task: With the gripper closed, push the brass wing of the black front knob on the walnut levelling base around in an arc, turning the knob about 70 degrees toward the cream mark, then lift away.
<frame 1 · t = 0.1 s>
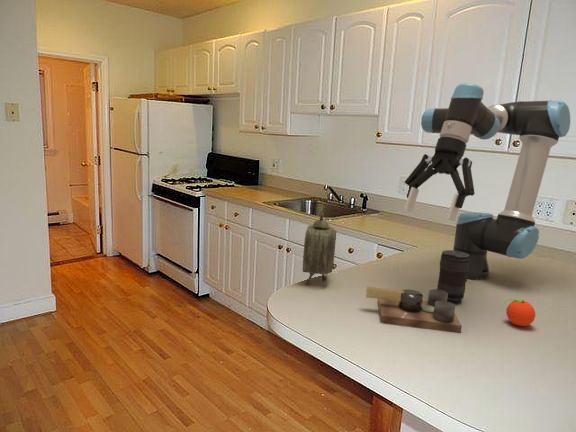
hand: (428, 214, 114), 28 cm above the countertop, tool tilted 20°, fingers open, 13 cm apart
levelling base: (416, 316, 116), on the countertop
footscrew knob: (393, 298, 116), point 4 cm above the countertop, hinge at 0.0°
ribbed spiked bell: (317, 281, 139), on the countertop
clementine: (516, 325, 115), on the countertop
camera lens: (448, 300, 130), on the countertop
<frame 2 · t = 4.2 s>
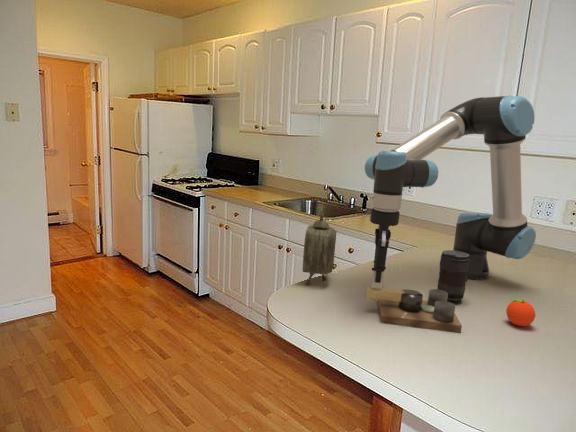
hand: (376, 292, 117), 5 cm above the countertop, tool pointing down, fingers closed
footscrew knob: (393, 298, 116), point 4 cm above the countertop, hinge at 3.8°, touching gripper
everything else where it was.
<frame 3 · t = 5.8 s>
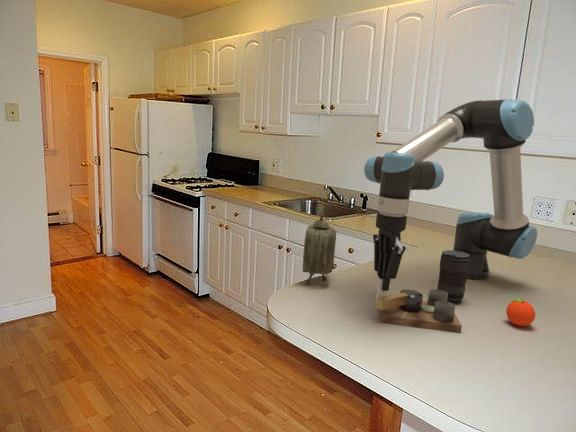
hand: (381, 300, 112), 5 cm above the countertop, tool pointing down, fingers closed
footscrew knob: (399, 302, 113), point 4 cm above the countertop, hinge at 41.5°, touching gripper
everything else where it was.
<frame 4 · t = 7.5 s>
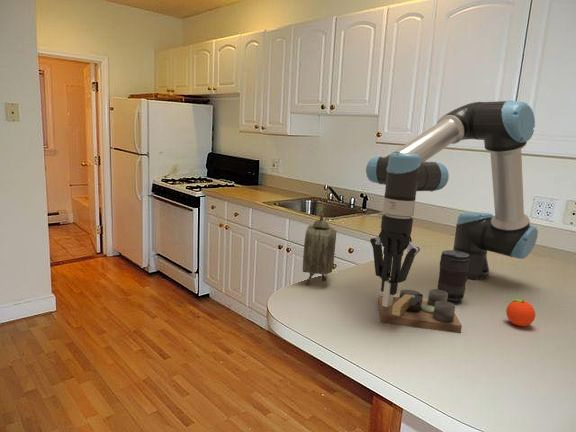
hand: (387, 304, 109), 5 cm above the countertop, tool pointing down, fingers closed
footscrew knob: (405, 304, 112), point 4 cm above the countertop, hinge at 65.6°
everything else where it was.
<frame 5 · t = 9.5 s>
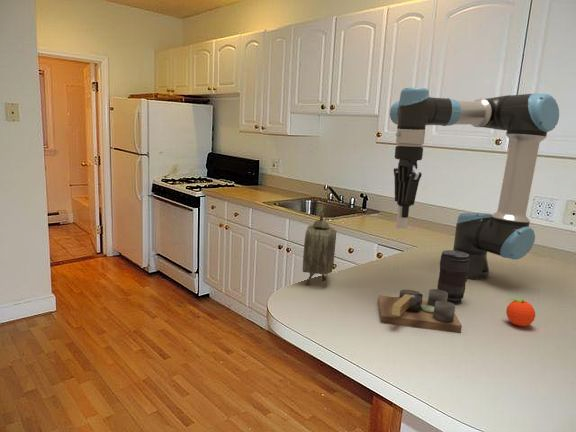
hand: (401, 227, 122), 22 cm above the countertop, tool pointing down, fingers closed
nothing on the countertop moved.
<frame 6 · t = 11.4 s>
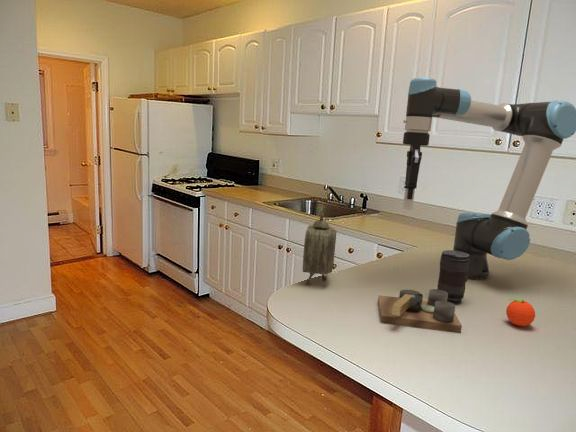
hand: (407, 209, 131), 26 cm above the countertop, tool pointing down, fingers closed
nothing on the countertop moved.
at the end: footscrew knob at +66° (first picture: +0°); footscrew knob touching nothing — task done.
